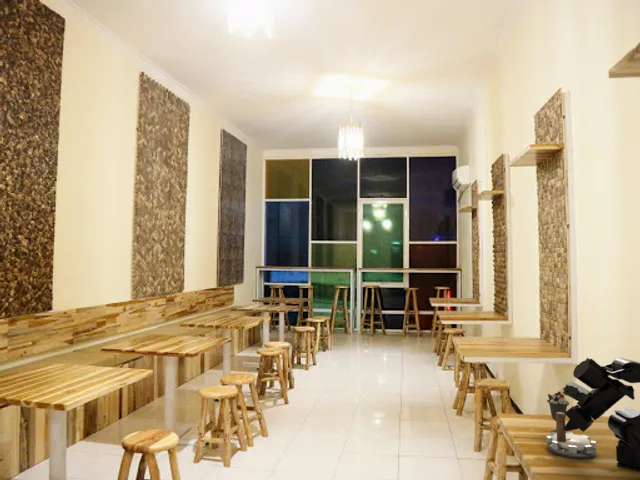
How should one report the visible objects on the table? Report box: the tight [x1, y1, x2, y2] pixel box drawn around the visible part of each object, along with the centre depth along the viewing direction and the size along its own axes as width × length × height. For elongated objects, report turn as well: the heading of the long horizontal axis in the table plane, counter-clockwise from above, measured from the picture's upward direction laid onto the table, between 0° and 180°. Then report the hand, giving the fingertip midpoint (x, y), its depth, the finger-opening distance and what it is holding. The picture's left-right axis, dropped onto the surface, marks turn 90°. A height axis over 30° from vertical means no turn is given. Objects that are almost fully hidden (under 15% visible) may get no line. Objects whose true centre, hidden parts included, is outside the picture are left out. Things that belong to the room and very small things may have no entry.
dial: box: [552, 412, 591, 451], centre depth 144 cm, size 10×10×10 cm
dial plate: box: [546, 431, 597, 460], centre depth 144 cm, size 13×13×3 cm
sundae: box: [546, 387, 570, 434], centre depth 159 cm, size 7×7×15 cm
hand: (565, 429), depth 142 cm, fingers closed, pressing on dial
